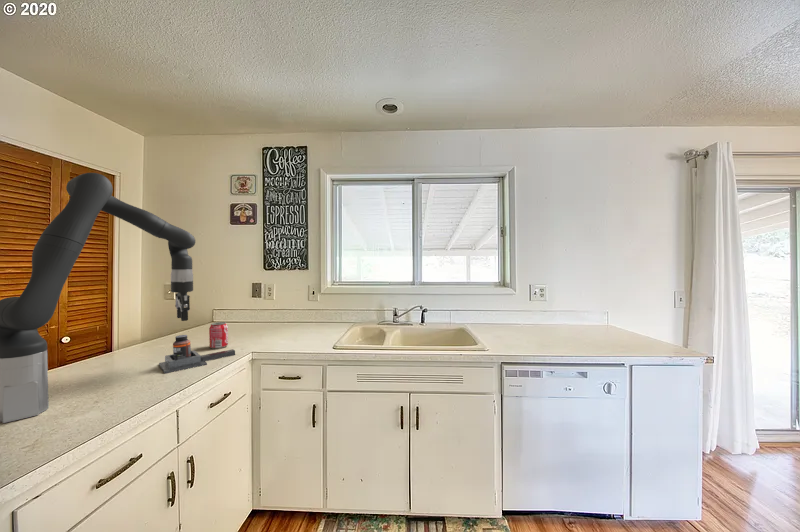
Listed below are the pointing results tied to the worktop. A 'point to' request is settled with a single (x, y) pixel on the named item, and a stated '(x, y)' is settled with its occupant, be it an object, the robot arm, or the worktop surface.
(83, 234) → the robot arm
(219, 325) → the beverage can
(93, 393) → the worktop surface
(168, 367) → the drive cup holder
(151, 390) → the worktop surface
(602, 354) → the worktop surface
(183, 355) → the supplement bottle
